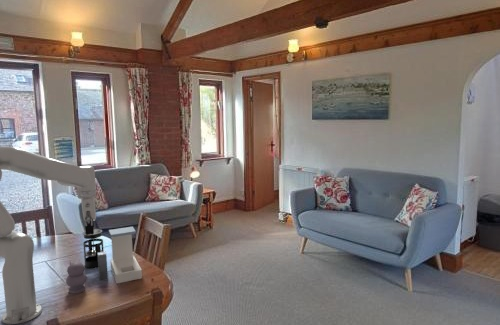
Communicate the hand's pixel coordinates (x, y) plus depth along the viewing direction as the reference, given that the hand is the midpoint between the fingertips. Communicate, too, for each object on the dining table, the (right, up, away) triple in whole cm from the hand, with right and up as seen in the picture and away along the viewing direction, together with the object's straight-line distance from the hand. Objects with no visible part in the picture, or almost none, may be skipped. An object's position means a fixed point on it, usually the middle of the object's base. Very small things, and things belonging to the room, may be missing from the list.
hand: (90, 230), depth 164 cm
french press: (-5, -20, +16) cm, 26 cm away
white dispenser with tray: (+13, -21, +8) cm, 26 cm away
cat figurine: (-1, -24, -9) cm, 25 cm away
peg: (+5, -22, +1) cm, 23 cm away
